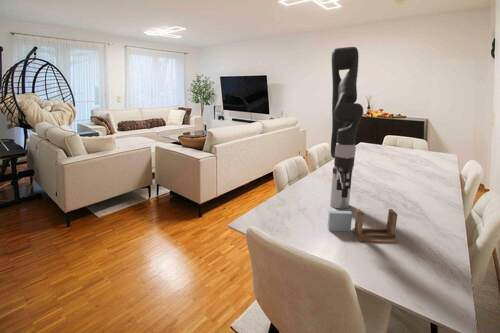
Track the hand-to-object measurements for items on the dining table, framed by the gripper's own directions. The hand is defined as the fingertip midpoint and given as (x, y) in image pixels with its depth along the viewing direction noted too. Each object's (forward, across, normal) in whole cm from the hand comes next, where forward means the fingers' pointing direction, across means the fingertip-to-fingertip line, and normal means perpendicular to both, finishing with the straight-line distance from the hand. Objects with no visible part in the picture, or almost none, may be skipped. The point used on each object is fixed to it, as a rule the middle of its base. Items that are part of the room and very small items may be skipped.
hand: (341, 193), depth 119 cm
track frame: (+16, +5, +13) cm, 21 cm away
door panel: (+16, 0, 0) cm, 16 cm away
